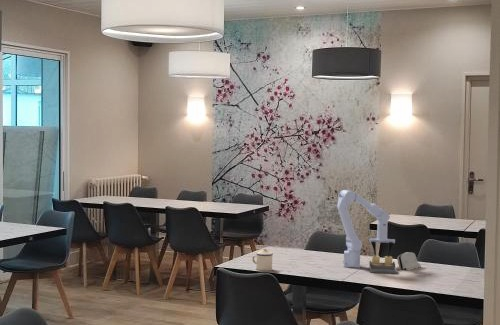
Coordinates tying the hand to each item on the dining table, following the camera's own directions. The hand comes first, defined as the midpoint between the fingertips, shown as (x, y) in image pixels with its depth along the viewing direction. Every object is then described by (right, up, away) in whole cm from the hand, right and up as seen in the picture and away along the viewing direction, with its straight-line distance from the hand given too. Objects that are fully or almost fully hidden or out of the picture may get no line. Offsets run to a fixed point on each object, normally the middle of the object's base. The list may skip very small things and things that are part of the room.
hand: (381, 254), depth 390 cm
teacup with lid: (-70, -5, -18) cm, 72 cm away
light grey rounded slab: (+14, -7, -5) cm, 17 cm away
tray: (-3, -7, -19) cm, 20 cm away
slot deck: (-2, -6, -9) cm, 11 cm away
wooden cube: (-5, -4, -7) cm, 9 cm away
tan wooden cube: (+2, -4, -8) cm, 9 cm away
